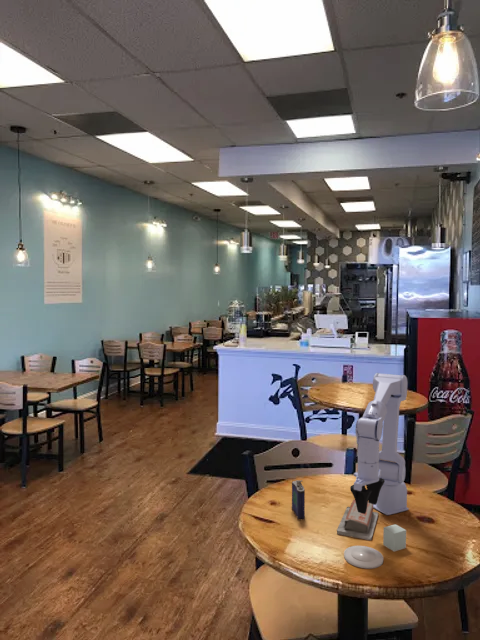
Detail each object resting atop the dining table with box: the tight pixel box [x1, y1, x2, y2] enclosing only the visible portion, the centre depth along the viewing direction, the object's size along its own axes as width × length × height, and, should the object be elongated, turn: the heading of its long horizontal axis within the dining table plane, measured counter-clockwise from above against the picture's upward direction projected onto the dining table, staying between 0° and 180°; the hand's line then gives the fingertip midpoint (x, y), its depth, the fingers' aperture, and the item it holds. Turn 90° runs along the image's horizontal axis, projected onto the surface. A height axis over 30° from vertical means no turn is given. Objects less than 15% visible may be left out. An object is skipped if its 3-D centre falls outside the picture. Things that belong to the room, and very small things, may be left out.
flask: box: [291, 479, 306, 521], centre depth 155 cm, size 9×3×11 cm, turn 8°
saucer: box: [343, 545, 384, 570], centre depth 128 cm, size 10×10×1 cm
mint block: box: [382, 524, 407, 552], centre depth 134 cm, size 4×4×5 cm
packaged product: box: [336, 499, 380, 541], centre depth 148 cm, size 18×5×10 cm
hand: (367, 508), depth 138 cm, fingers open, 7 cm apart
